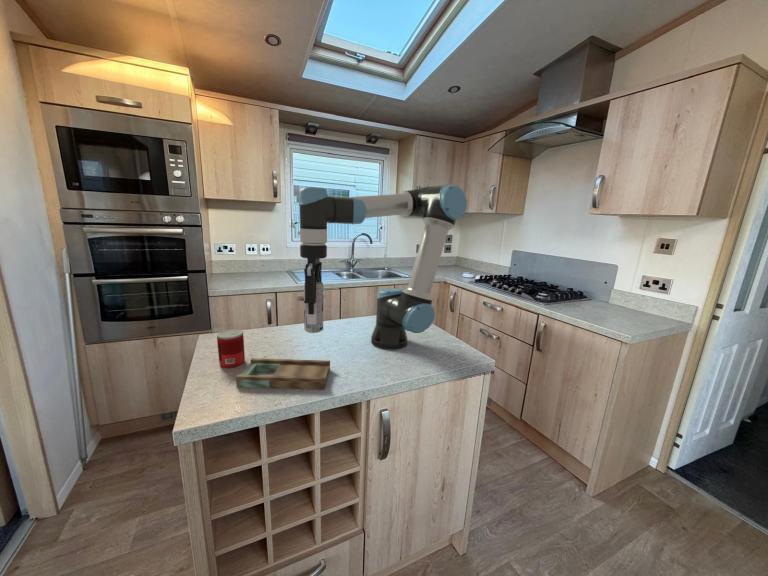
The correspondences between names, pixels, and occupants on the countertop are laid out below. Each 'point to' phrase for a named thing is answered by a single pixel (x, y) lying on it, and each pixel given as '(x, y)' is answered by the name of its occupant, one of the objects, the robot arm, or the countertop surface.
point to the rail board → (285, 374)
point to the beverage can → (319, 299)
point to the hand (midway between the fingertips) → (313, 320)
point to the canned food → (231, 348)
